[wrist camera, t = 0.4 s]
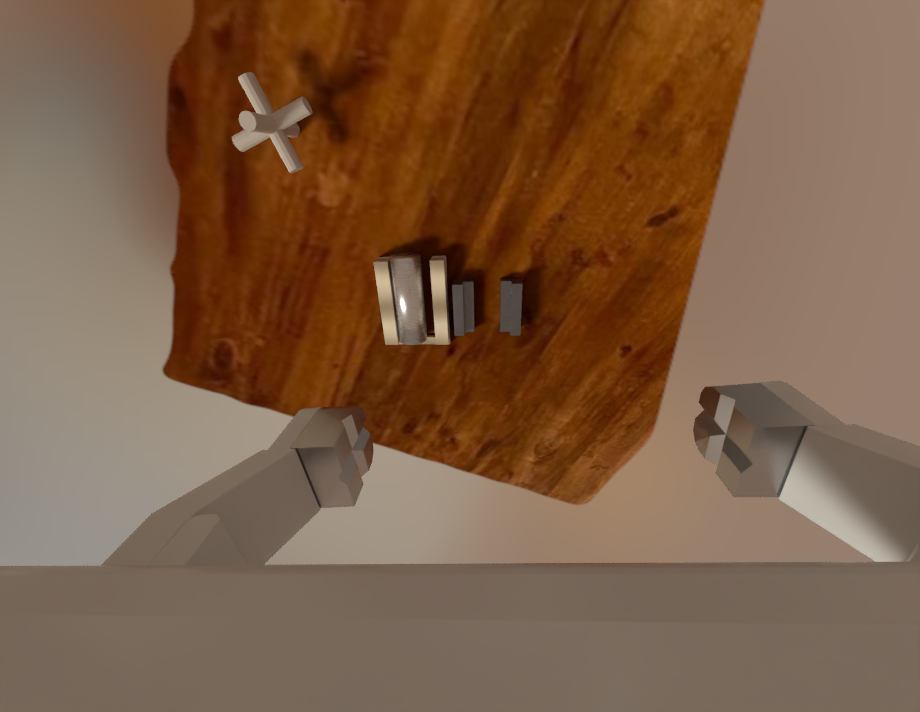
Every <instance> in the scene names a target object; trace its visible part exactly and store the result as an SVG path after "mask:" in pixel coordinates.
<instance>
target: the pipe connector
mask: <svg viewBox="0 0 920 712" xmlns="http://www.w3.org/2000/svg"><path fill="white" fill-rule="evenodd" d="M238 80H239V82H240V84H241V85H242V87H243V89H244V91H245V93H246V95H247V96H248V98H249V100H250V102H251V104H252V105H253V107H254V109H255V111H256V113H254V112H249V111H243V112H241V113H240V115H239V122H240V125H241V126H242V128H243V129H245V130H243V131H241V132H239V133H238V134H236V135H234V136H232V141H233V143H234V145H235V146H236V147H237V148H238V149H239V150H240V151H242V152H244V151H246V150H248V149H250V148H251V147H253V146H255V145H257V144H259V143H260V142H262V141H264V140H266V139H268V138H269V137H270V138H271V140H272V142H273V143H274V145H275V147H276V149H277V151H278V153H279V154H280V156H281V158H282V160H283V162H284V163H285V165H286V167H287V169H288V171H289V173H294V172H297V171H299V170H301V169H303V168H304V167H303V165H302V163H301V161H300V160H299V158H298V156H297V154H296V152H295V150H294V148H293V146H292V145H291V143H290V141H289V139H288V137H297V136H298V135H299V133H300V128H299V126H298V124H297V123H296V122H298V121H300V120H302V119H303V118H305V117H307V116H309V115H311V114H312V113H313V112H312V109H311V106H310V104H309V103H308V101H307V100H306V99H305V98H304V97H303V96H302V97H300V98H298V99H297V100H295V101H293V102H291V103H290V104H288V105H286V106H284V107H283V108H281V109H279V110H277V111H276V112H274V111H273V109H272V107H271V105H270V103H269V101H268V99H267V98H266V96H265V94H264V92H263V90H262V88H261V86H260V84H259V83H258V81H257V79H256V77H255V75H254V74H253V73H251V72H248V73H244V74H242V75H241V76H239V78H238Z"/></svg>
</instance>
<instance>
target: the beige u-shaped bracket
mask: <svg viewBox="0 0 920 712" xmlns="http://www.w3.org/2000/svg"><path fill="white" fill-rule="evenodd" d="M374 269H375V276H376V283H377V290H378V296H379V303H380V310H381V317H382V324H383V330H384V337H385V344H386V345H398V344H403V343H401V342H400V338H399V330H398V322H397V314H396V306H395V298H394V290H393V282H392V274H391V266H390V259H389V257H379V258H377V259H376V260H375V261H374ZM430 273H431V287H432V300H433V313H434V327H435V335H427V337H428V338H427V340H426V341H425V342H423V343H420V344H450V343H451V339H450V321H449V302H448V283H447V265H446V256H432V257H431V259H430Z"/></svg>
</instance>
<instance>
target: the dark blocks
mask: <svg viewBox="0 0 920 712" xmlns="http://www.w3.org/2000/svg"><path fill="white" fill-rule="evenodd" d="M522 287H523V283H522V280H521V278H501V285H500V332H510V335H520V331H521V309H522ZM452 293H453V314H454V335H455V336H464V334H465V332H474V330H475V316H474V279H454V280H453V284H452Z"/></svg>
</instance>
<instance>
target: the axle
mask: <svg viewBox="0 0 920 712" xmlns="http://www.w3.org/2000/svg"><path fill="white" fill-rule="evenodd" d="M389 259H390V266H391V274H392V282H393V290H394V298H395V306H396V314H397V322H398V330H399V338H400V342H401V343H403V344H407V345H415V344H420V343H423V342H425V341H426V340H427V338H428V337H427V325H426V313H425V302H424V290H423V279H422V267H421V255H420V254H419V253H397V254H393V255H391V256H389Z"/></svg>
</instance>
